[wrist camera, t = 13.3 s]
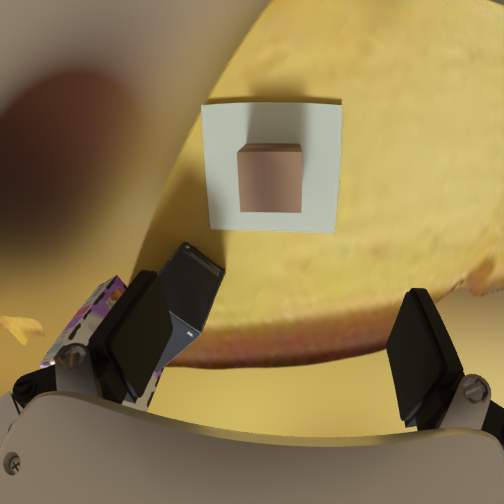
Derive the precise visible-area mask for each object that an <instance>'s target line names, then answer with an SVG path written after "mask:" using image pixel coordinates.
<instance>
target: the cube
mask: <svg viewBox="0 0 504 504" xmlns="http://www.w3.org/2000/svg"><path fill="white" fill-rule="evenodd" d="M237 167H238V184H239V201H240V212H276V213H301V209H302V149H301V146H300V144H294V143H257V144H245V145H244V146H243V147H242V148H241V149H240V150H239V151H238V152H237Z"/></svg>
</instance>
